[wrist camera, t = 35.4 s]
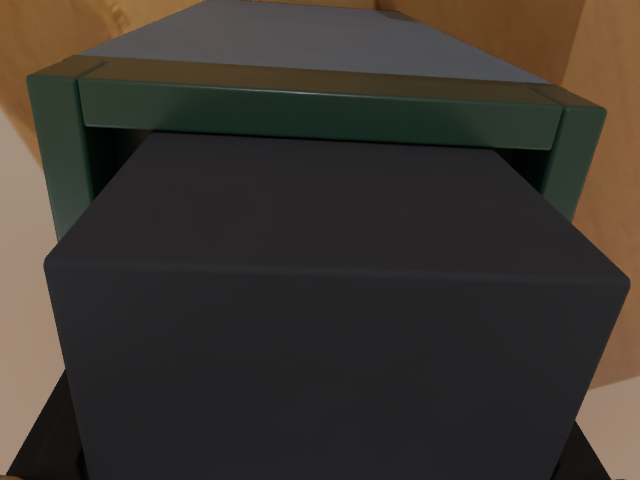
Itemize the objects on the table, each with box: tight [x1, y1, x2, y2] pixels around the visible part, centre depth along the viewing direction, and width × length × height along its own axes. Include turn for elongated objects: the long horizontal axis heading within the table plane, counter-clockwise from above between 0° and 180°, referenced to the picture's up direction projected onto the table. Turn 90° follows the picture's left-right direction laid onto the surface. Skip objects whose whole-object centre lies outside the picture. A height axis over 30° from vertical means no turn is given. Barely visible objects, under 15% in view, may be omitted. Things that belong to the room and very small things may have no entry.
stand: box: [77, 0, 553, 84], centre depth 23 cm, size 20×10×18 cm, turn 176°
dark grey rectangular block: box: [44, 130, 630, 480], centre depth 9 cm, size 6×9×4 cm, turn 176°
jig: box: [26, 55, 607, 242], centre depth 14 cm, size 20×10×2 cm, turn 176°
